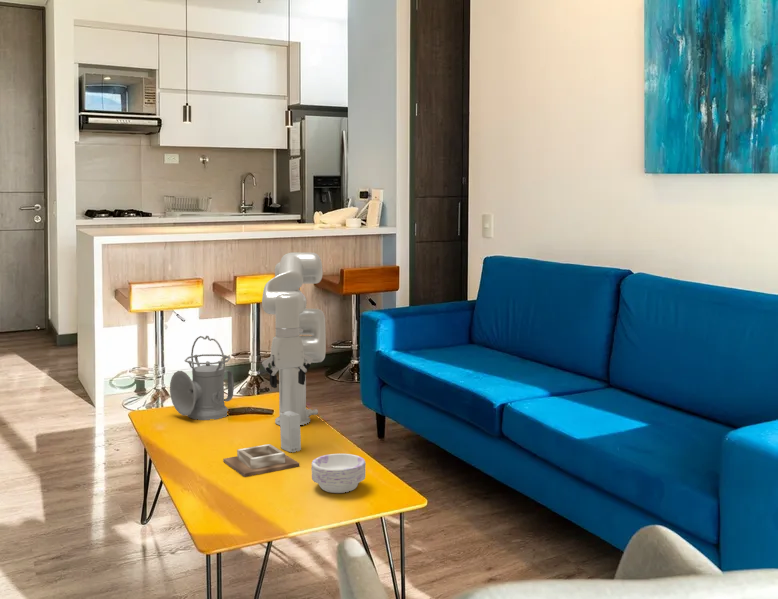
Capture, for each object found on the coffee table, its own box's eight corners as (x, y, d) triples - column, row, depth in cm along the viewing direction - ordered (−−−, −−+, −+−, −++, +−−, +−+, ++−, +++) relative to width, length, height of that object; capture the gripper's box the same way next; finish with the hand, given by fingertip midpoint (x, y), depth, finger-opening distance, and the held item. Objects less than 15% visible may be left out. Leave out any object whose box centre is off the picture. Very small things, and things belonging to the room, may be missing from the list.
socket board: (276, 452, 261) (276, 440, 260) (299, 466, 247) (299, 453, 247) (223, 461, 251) (223, 449, 250) (244, 477, 238) (244, 463, 237)
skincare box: (301, 450, 262) (301, 414, 261) (289, 453, 260) (289, 416, 258) (291, 446, 267) (291, 410, 266) (279, 448, 264) (279, 412, 263)
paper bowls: (314, 478, 238) (314, 451, 237) (366, 479, 237) (367, 452, 236) (308, 497, 222) (308, 469, 221) (363, 498, 222) (363, 470, 221)
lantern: (167, 414, 303) (165, 335, 299) (216, 404, 319) (214, 328, 315) (199, 426, 289) (197, 343, 285) (249, 414, 305) (248, 335, 301)
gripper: (306, 329, 267) (306, 380, 269) (257, 333, 258) (258, 386, 259) (317, 332, 260) (317, 385, 262) (267, 336, 251) (267, 390, 253)
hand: (287, 385), depth 261 cm, fingers open, 9 cm apart
